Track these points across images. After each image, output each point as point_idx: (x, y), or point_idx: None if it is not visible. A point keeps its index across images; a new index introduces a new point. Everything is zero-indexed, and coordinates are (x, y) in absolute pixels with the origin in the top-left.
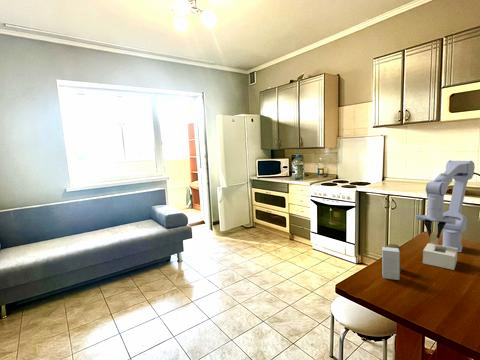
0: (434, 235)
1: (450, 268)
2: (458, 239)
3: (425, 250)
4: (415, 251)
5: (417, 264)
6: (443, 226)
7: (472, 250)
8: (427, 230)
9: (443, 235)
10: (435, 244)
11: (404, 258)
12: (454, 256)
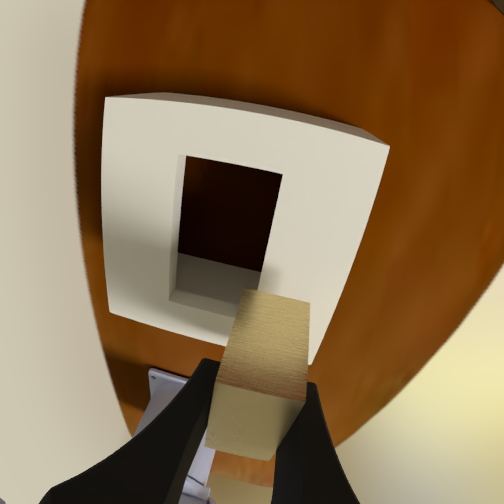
0: (248, 381)
1: (181, 94)
2: (141, 429)
3: (366, 153)
4: (374, 329)
5: (398, 91)
6: (53, 491)
7: (122, 390)
8: (337, 458)
9: (207, 460)
10: (254, 290)
11: (468, 181)
12: (106, 98)
